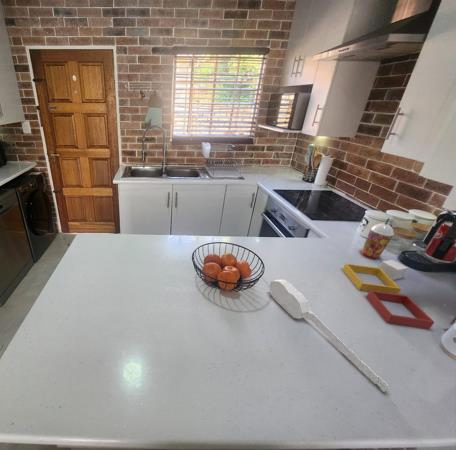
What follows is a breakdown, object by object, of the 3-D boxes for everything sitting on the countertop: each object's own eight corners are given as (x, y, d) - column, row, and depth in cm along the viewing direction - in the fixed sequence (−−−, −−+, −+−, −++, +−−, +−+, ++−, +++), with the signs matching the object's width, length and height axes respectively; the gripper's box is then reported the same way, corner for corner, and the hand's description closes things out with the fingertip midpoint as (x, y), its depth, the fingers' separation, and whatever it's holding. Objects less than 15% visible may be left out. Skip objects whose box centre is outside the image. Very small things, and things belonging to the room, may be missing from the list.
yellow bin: (375, 275, 105) (379, 267, 104) (396, 296, 94) (401, 288, 92) (341, 271, 107) (345, 263, 106) (358, 291, 96) (362, 283, 94)
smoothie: (355, 250, 124) (372, 213, 114) (373, 252, 123) (392, 215, 114) (365, 259, 116) (384, 221, 107) (384, 261, 115) (405, 223, 106)
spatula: (366, 403, 62) (377, 398, 63) (383, 386, 58) (395, 381, 59) (265, 292, 92) (274, 290, 93) (272, 276, 88) (281, 274, 89)
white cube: (391, 281, 102) (398, 270, 99) (376, 272, 107) (382, 261, 104) (401, 279, 104) (408, 267, 101) (385, 270, 109) (392, 259, 106)
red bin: (401, 303, 91) (407, 295, 89) (428, 331, 80) (434, 322, 78) (365, 298, 92) (369, 290, 91) (385, 324, 82) (391, 315, 80)
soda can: (418, 253, 86) (438, 222, 80) (429, 249, 88) (449, 219, 83) (446, 265, 80) (469, 232, 74) (457, 261, 82) (480, 229, 77)
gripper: (470, 182, 81) (432, 242, 91) (457, 191, 71) (416, 257, 81) (507, 189, 75) (461, 251, 86) (498, 199, 65) (448, 269, 76)
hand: (439, 254), depth 84 cm, fingers closed on soda can, 7 cm apart
